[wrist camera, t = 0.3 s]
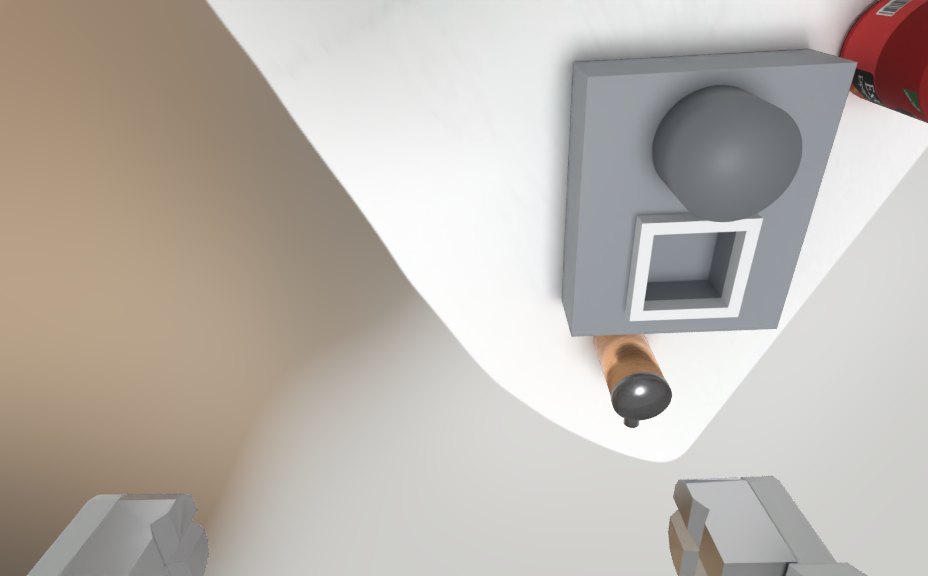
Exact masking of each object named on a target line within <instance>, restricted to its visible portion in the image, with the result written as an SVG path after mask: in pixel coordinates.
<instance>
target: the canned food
mask: <svg viewBox="0 0 928 576" xmlns="http://www.w3.org/2000/svg"><path fill="white" fill-rule="evenodd" d="M840 58H844V59H848V60H851V61H855V62H858V63H857V66H856V69H855V73H854V76H853V79H852V83H851V86H850V90H851V92H852V93H853V94H855V95H857V96H858V97H860V98H862V99H865V100H868V101H870V102H873V103H876V104H878V105H881V106H884V107H886V108H889V109H892V110H894V111H897V112H900V113H902V114H905V115H908V116H910V117H913V118H916V119H918V120H921V121H924V122H926V123H928V0H880V1H878V2H877V3H876V4H874V5H873V6H872V7H871V8H869V9H868V10H867V11H866V12H865V13H864V14H863V15H862V16H861V17H860V18H859V19H858V21H857V22H856V23H855V25H854V26H853V27H852V29H851V30H850V32H849V34H848V36H847V37H846V40H845V42H844V45H843V47H842V51H841V55H840Z"/></svg>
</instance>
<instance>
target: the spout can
mask: <svg viewBox="0 0 928 576" xmlns="http://www.w3.org/2000/svg"><path fill="white" fill-rule="evenodd" d="M594 345H595V348H596V351H597V354H598V358H599V361H600V364H601V367H602V370H603V373H604V376H605V379H606V382H607V385H608V389H609V392H610V395H611V402H612V405H613V408H614V410H615V411H616V412H617V413H618V414H619V415H620V416H622V417H624V424H625V425H626V426H627V427H630V428H635V427H637V426H638V425H639V420H645V419H649V418H652V417H655V416H657V415H658V414H660V413H661V412H663V411H664V410H665V409H666V408H667V407H668V405H669V403H670V401H671V398H672V392H671V389H670V387H669V385H668V383H667V381H666V380H665V379H664V377H663V375H662V372H661V370H660V368H659V366H658V364H657V362H656V359H655V357H654V355H653V353H652V351H651V349H650V346H649V344H648V342H647V340H646V338H645V336H644V334H625V335H599V336H594Z"/></svg>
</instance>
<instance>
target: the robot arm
mask: <svg viewBox="0 0 928 576" xmlns="http://www.w3.org/2000/svg"><path fill="white" fill-rule="evenodd" d="M673 498H674V500H675V503H676V505H677V507H678V510H677V511H676V512H675V513H674V514H673V515H672V516H671V517H670V522H669V531H668V534H669V545H670V552H671V556H672V560H673V564H674V566H675V569H676V571H677V574H678V576H867V575H866V574H864V573H862V572H861V571H859V570H858V569H856V568H855V567H853V566H852V565H850V564H849V563H837V562H836V560H835V559H834V558H833V556H832V555H831V553H830V552H829V551H828V549H827V548H826V546H825V545H824V543H823V542H822V541H821V539H820V538H819V536H818V535H817V534H816V532H815V531H814V529H813V528H812V526H811V525H810V524H809V522H808V521H807V519H806V518H805V516H804V515H803V514H802V512H801V511H800V509H799V508H798V507H797V505H796V504H795V502H794V501H793V500H792V498H791V497H790V495H789V494H788V493H787V491H786V490H785V488H784V487H783V485H782V484H781V482H780V481H779V480H777V479H776V478H774V477H773V476H764V477H763V476H762V477H741V478H710V479H683V480H679V481H678V482H677V484H676V486H675V491H674V496H673ZM196 512H197V507H196V505H195V502H194V500H193V498H192V496H191V495H186V494H127V495H98V496H96V497H94V498H92V499H90V500H89V501H88V502H87V503H86V504H85V505H84V507H83V508H82V509H81V510H80V512H79V513H78V514H77V515H76V516H75V518H74V519H73V520H72V521H71V522H70V524H69V525H68V526H67V527H66V528H65V530H64V531H63V532H62V533H61V535H60V536H59V537H58V538H57V539H56V541H55V542H54V543H53V544H52V546H51V547H50V548H49V549H48V550H47V552H46V553H45V554H44V555H43V557H42V558H41V559H40V560H39V561H38V563H37V564H36V565H35V566H34V567H33V569H32V570H31V571H30V573H29V574H28V575H27V576H203V574H204V572H205V568H206V563H207V558H208V554H209V553H208V539H207V536H206V533H205V530H204V529H203V528H202V527H201V526H200V525H198V524H197V523H196V522H194V521H193V520H192V519H193V517H194V516H195V514H196Z"/></svg>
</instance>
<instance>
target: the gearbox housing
mask: <svg viewBox="0 0 928 576" xmlns="http://www.w3.org/2000/svg"><path fill="white" fill-rule="evenodd" d="M857 63H858V62H855V61H851V60H848V59H844V58H840V57H837V56H833V55H830V54H826V53H822V52H819V51H815V50H812V49H802V50H784V51H765V52H747V53H729V54H711V55H693V56H674V57H656V58H638V59H620V60H602V61H584V62H573V80H572V100H571V121H570V141H569V162H568V183H567V203H566V224H565V244H564V265H563V286H562V303H563V306H564V310H565V314H566V318H567V321H568V325H569V329H570V332H571V336H572V337H573V336H599V335H625V334H652V333H678V332H704V331H731V330H757V329H777V327H778V323H779V320H780V317H781V313H782V310H783V307H784V303H785V300H786V297H787V294H788V290H789V287H790V284H791V280H792V277H793V274H794V271H795V267H796V264H797V261H798V257H799V254H800V251H801V247H802V244H803V241H804V238H805V234H806V231H807V228H808V224H809V221H810V218H811V214H812V211H813V208H814V205H815V201H816V198H817V195H818V191H819V188H820V185H821V182H822V178H823V175H824V172H825V168H826V165H827V162H828V158H829V155H830V152H831V149H832V145H833V142H834V139H835V135H836V132H837V129H838V125H839V122H840V119H841V116H842V112H843V109H844V106H845V102H846V99H847V96H848V93H849V89H850V86H851V83H852V79H853V76H854V73H855V69H856V66H857Z"/></svg>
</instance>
